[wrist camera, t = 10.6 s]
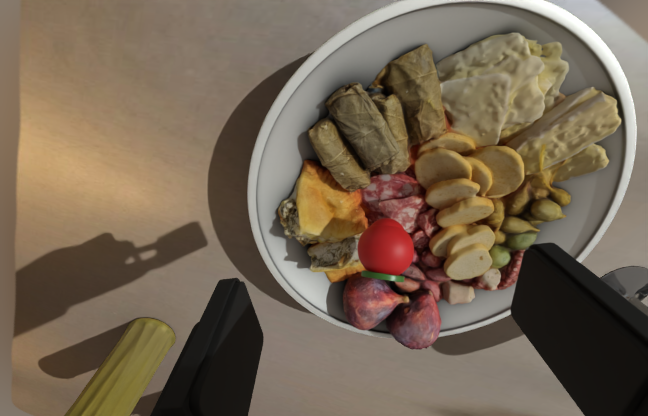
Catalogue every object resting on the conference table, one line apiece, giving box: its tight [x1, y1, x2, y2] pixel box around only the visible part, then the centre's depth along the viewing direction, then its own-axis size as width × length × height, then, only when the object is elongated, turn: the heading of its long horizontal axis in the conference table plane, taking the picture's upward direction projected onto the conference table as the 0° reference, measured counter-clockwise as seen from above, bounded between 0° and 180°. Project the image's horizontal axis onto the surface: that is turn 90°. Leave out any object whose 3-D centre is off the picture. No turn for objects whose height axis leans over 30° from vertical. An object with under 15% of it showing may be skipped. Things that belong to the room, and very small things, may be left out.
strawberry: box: [357, 218, 414, 282], centre depth 20 cm, size 4×4×4 cm
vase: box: [64, 318, 175, 416], centre depth 30 cm, size 6×6×14 cm
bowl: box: [247, 0, 636, 349], centre depth 24 cm, size 30×30×8 cm
